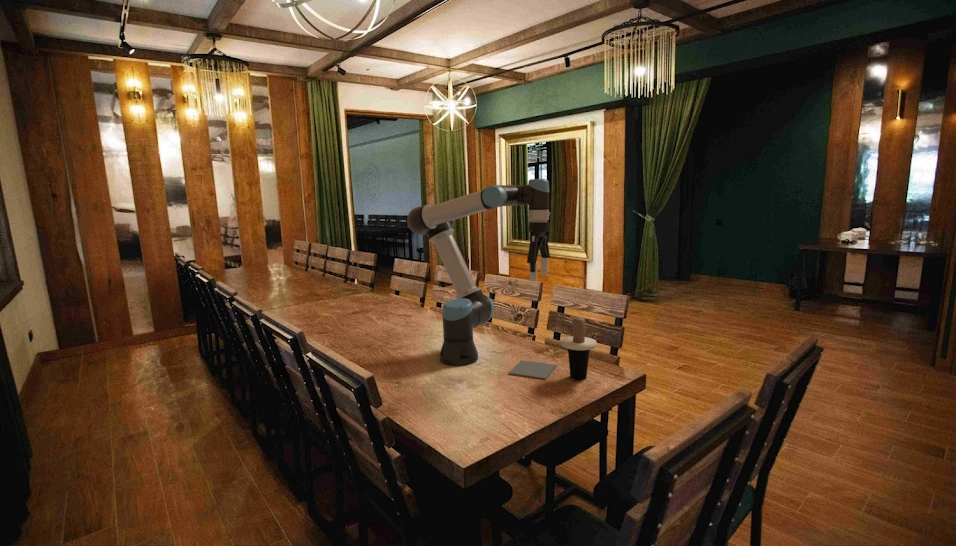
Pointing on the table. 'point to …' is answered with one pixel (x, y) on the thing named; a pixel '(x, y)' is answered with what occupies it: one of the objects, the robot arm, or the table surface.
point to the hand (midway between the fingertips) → (539, 277)
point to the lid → (578, 337)
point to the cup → (578, 364)
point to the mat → (533, 369)
